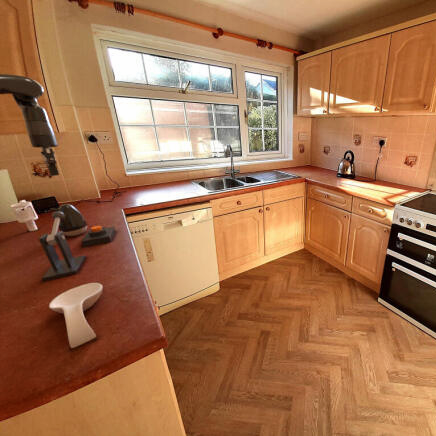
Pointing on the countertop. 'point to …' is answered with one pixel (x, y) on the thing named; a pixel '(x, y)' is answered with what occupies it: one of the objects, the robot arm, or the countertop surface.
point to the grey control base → (98, 236)
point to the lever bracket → (59, 266)
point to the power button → (96, 228)
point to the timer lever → (55, 227)
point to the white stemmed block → (25, 214)
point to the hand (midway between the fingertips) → (54, 175)
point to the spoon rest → (77, 311)
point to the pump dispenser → (71, 221)
